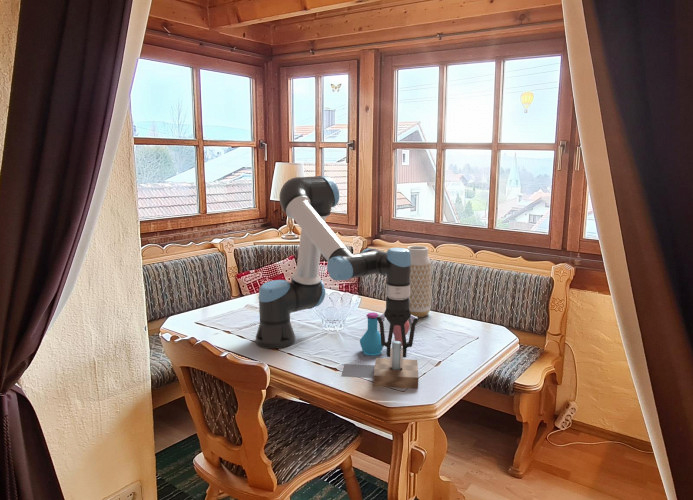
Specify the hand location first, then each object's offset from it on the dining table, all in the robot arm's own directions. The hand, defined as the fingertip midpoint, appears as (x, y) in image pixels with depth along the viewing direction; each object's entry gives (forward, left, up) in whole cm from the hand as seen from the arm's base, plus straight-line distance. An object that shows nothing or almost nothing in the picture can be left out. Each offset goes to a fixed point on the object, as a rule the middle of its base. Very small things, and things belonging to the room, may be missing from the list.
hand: (396, 365), depth 173 cm
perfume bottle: (-9, +21, -5) cm, 23 cm away
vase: (+8, +68, -5) cm, 69 cm away
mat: (-12, +4, -5) cm, 13 cm away
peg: (0, 0, -4) cm, 4 cm away
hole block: (0, 0, -5) cm, 5 cm away
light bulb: (+1, +28, -5) cm, 28 cm away
